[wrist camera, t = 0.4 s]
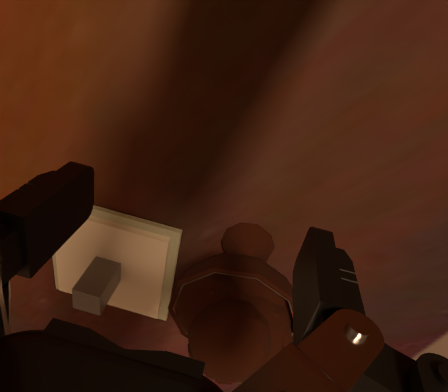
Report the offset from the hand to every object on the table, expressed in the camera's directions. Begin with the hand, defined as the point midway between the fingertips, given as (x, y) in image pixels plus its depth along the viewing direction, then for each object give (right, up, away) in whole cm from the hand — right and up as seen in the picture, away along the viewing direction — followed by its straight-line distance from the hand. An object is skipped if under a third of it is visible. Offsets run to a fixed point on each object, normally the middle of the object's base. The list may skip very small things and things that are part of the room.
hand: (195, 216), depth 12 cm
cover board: (-12, -7, +28) cm, 31 cm away
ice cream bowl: (+3, -4, +23) cm, 24 cm away
